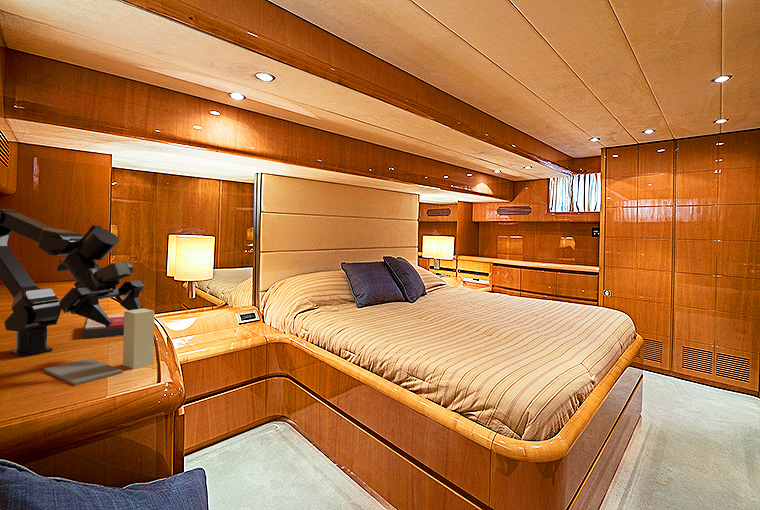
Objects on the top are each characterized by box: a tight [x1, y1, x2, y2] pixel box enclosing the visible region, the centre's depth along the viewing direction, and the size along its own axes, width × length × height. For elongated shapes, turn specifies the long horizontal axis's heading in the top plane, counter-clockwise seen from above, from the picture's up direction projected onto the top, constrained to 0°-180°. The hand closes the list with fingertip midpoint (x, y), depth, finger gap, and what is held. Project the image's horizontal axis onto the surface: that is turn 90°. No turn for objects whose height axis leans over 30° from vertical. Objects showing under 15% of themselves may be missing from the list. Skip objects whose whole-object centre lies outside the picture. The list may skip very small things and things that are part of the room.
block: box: [122, 307, 156, 370], centre depth 90 cm, size 4×4×13 cm
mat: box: [43, 357, 124, 386], centre depth 84 cm, size 14×9×1 cm, turn 62°
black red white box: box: [82, 313, 124, 340], centre depth 118 cm, size 11×4×15 cm
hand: (126, 320), depth 91 cm, fingers open, 9 cm apart
